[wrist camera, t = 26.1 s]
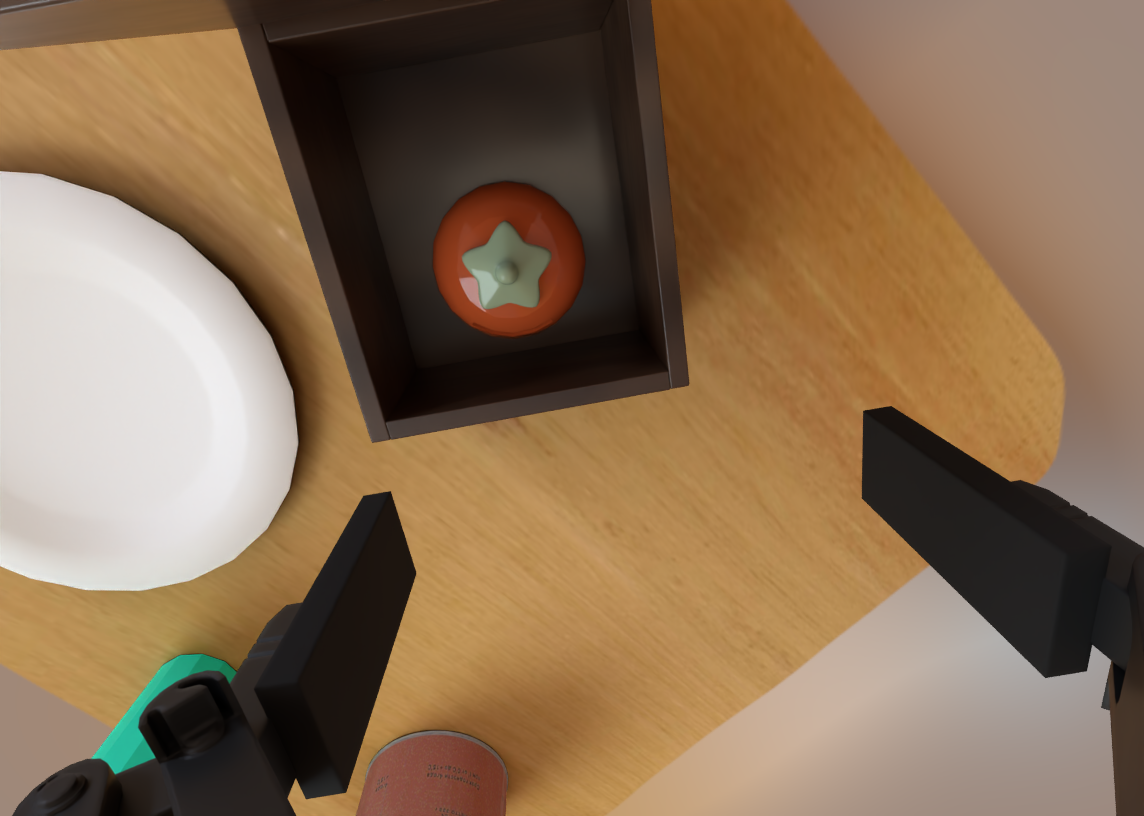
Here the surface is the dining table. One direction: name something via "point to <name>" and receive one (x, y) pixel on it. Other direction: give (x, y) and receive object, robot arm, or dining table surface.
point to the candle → (126, 738)
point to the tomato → (508, 259)
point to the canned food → (435, 778)
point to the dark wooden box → (458, 165)
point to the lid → (141, 18)
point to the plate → (129, 397)
